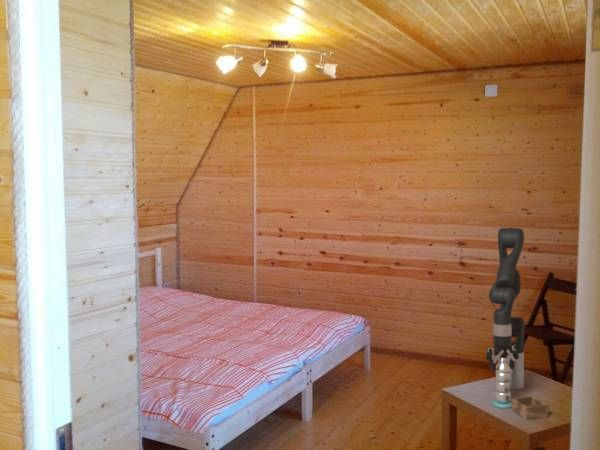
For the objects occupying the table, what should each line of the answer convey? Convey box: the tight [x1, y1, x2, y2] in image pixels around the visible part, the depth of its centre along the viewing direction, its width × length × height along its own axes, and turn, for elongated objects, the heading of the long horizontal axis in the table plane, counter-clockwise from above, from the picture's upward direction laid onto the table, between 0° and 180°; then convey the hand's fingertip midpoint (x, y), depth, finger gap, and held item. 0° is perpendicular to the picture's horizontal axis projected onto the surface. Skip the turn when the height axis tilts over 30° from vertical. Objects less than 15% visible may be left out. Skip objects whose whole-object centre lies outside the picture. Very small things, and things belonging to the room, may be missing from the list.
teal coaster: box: [491, 398, 511, 410], centre depth 261 cm, size 9×9×1 cm
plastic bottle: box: [494, 357, 512, 403], centre depth 261 cm, size 6×7×20 cm
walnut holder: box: [510, 395, 549, 421], centre depth 251 cm, size 11×10×5 cm
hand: (502, 370), depth 260 cm, fingers open, 8 cm apart
